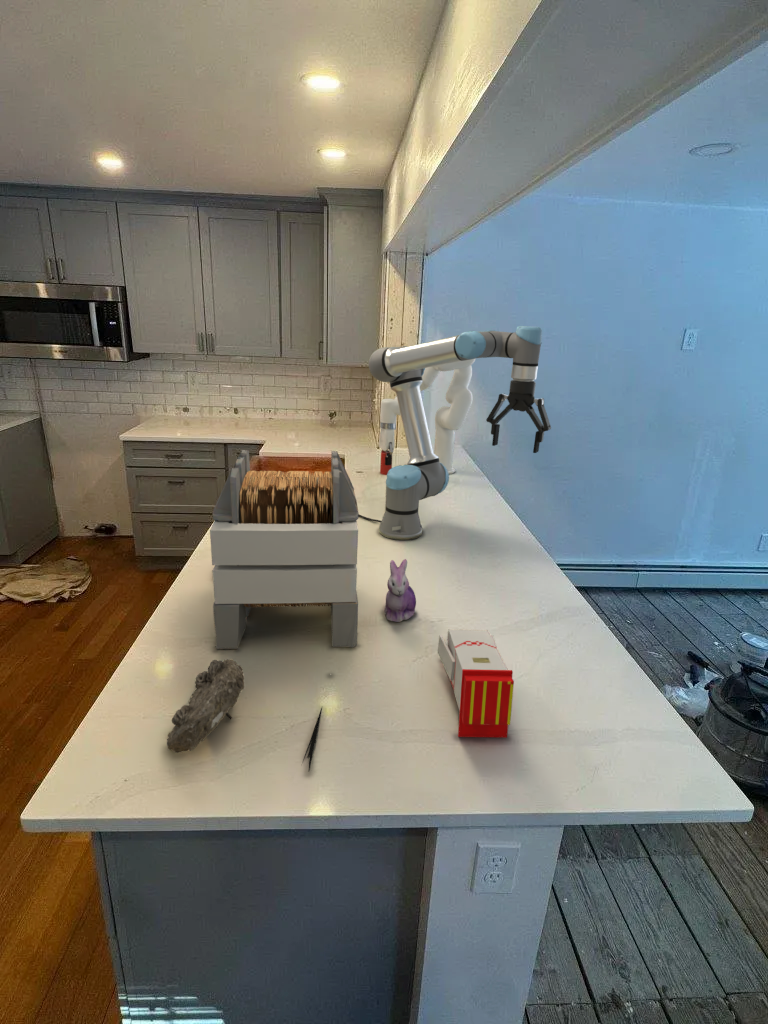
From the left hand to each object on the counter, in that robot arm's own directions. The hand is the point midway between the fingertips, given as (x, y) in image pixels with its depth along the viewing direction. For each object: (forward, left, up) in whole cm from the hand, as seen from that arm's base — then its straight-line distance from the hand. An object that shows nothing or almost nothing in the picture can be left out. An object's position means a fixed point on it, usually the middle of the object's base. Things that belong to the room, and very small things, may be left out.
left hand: (514, 448), depth 179 cm
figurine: (+11, -57, -35) cm, 67 cm away
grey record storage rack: (-6, -79, -35) cm, 86 cm away
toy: (+44, -66, -35) cm, 86 cm away
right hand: (-92, +28, -30) cm, 100 cm away
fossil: (+18, -111, -35) cm, 118 cm away
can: (-92, +28, -35) cm, 102 cm away
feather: (+31, -96, -35) cm, 107 cm away
